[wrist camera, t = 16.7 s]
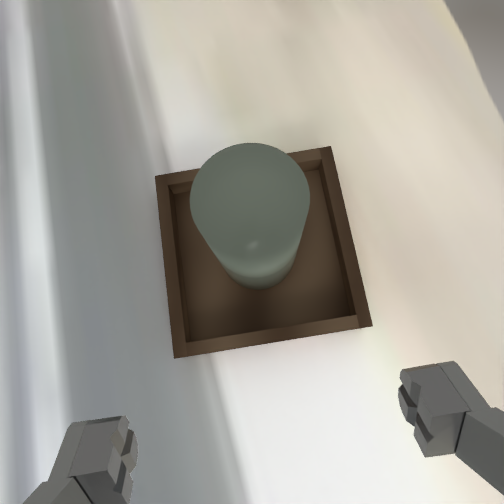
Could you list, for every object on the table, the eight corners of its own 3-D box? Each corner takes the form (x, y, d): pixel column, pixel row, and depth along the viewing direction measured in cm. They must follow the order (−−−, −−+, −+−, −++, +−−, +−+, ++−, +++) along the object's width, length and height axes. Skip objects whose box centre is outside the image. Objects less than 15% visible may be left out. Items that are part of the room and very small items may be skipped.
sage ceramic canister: (226, 295, 25) (197, 265, 15) (216, 224, 26) (183, 153, 16) (301, 283, 25) (321, 244, 15) (287, 212, 26) (297, 134, 16)
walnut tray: (182, 357, 24) (174, 358, 22) (164, 188, 27) (154, 176, 25) (363, 327, 24) (372, 326, 22) (326, 161, 27) (330, 145, 25)
